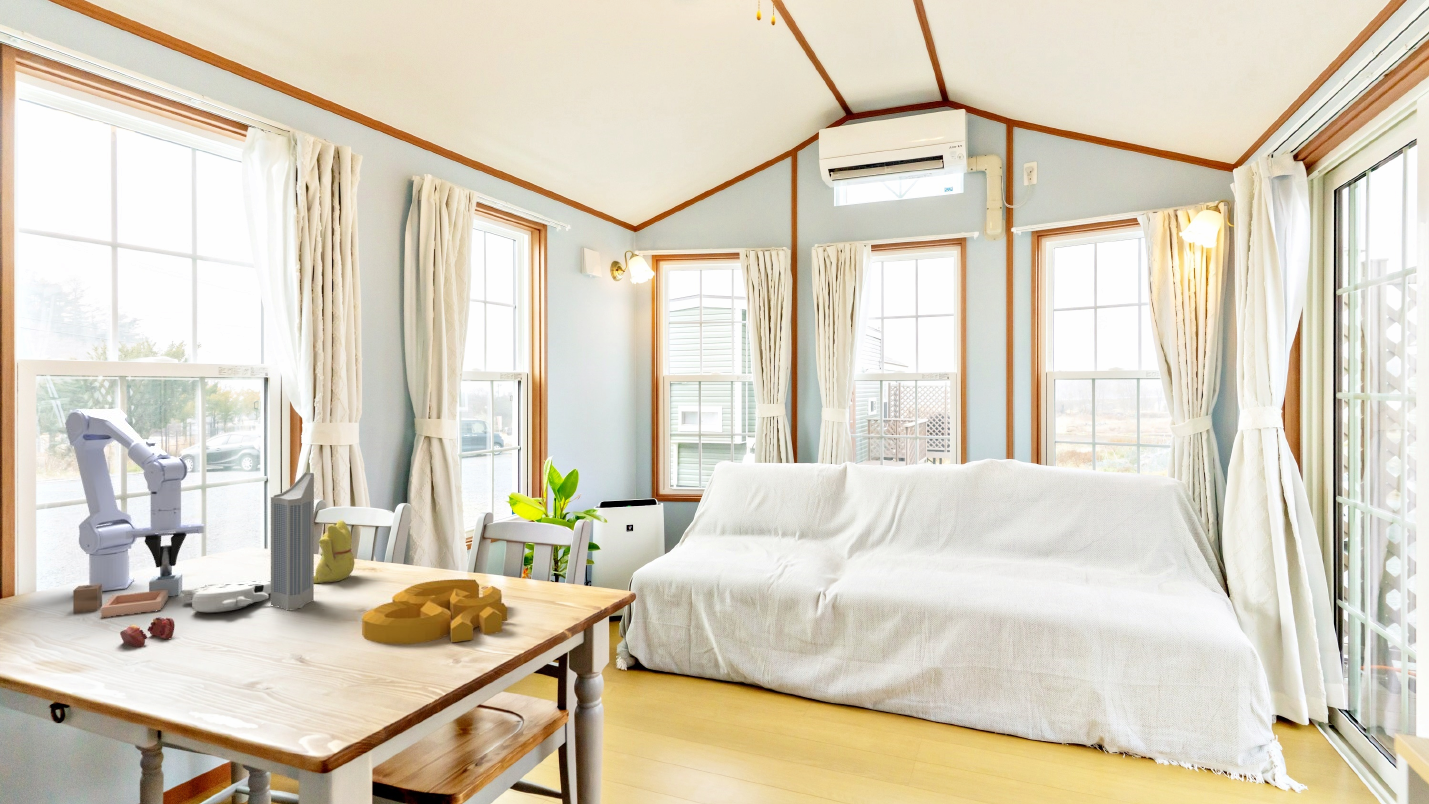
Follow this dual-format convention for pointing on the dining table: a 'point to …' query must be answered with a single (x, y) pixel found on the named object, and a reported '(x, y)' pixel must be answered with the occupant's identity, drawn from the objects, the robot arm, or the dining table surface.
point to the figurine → (335, 554)
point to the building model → (293, 544)
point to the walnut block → (87, 598)
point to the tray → (134, 603)
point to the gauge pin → (165, 561)
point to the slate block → (167, 584)
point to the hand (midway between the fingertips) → (166, 565)
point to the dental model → (157, 628)
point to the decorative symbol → (436, 613)
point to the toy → (227, 595)
